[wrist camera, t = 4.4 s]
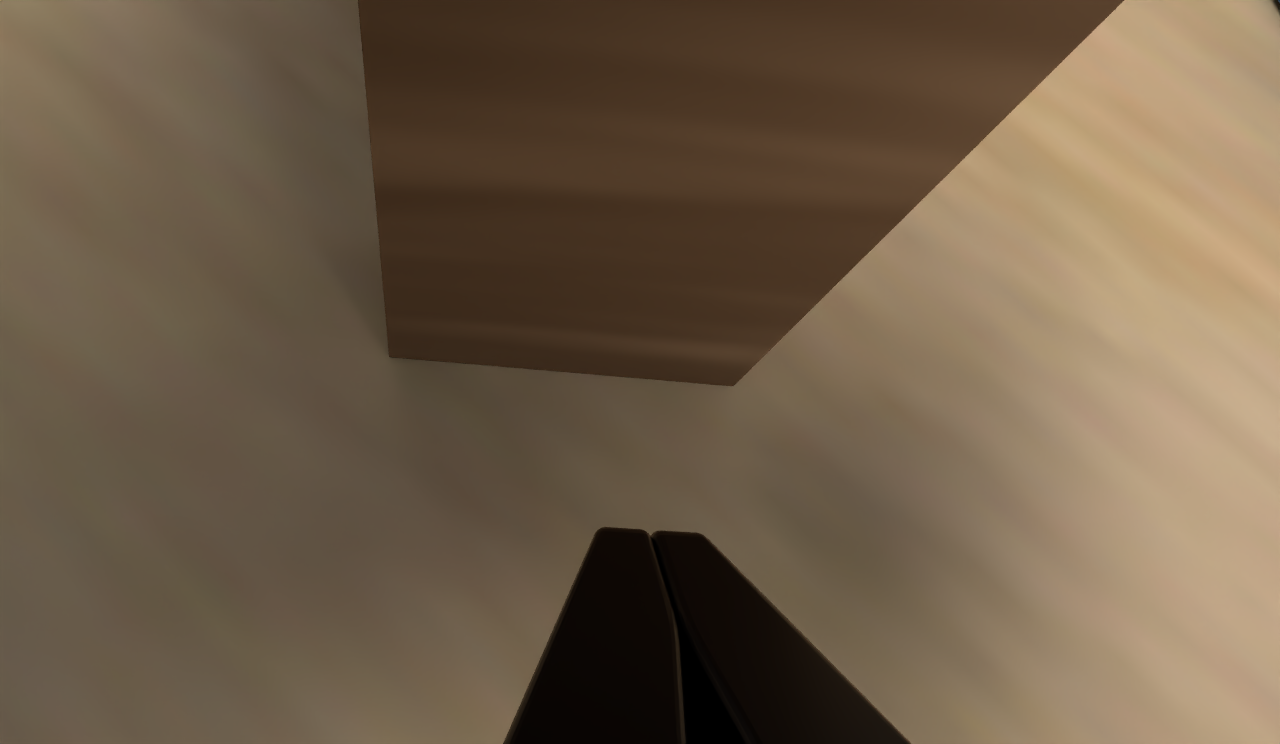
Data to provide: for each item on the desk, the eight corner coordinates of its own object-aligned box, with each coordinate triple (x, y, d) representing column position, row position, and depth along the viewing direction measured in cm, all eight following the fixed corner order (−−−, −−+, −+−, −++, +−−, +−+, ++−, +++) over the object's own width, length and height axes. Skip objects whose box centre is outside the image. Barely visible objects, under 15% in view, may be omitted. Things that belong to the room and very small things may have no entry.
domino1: (733, 386, 17) (1407, -279, 5) (389, 356, 16) (312, -508, 4) (734, 273, 17) (1350, -553, 6) (401, 238, 16) (359, -806, 5)
